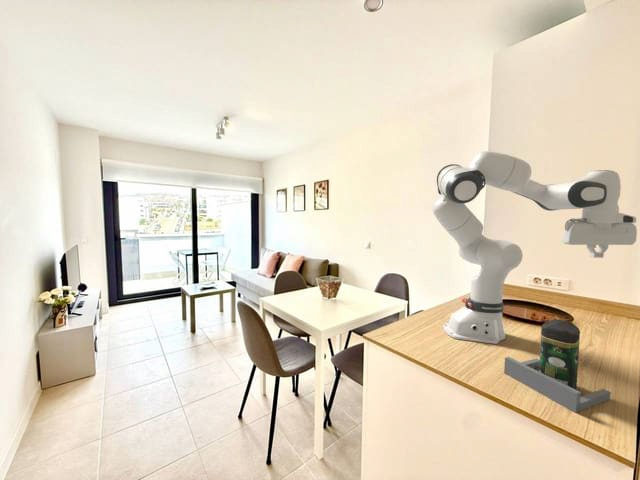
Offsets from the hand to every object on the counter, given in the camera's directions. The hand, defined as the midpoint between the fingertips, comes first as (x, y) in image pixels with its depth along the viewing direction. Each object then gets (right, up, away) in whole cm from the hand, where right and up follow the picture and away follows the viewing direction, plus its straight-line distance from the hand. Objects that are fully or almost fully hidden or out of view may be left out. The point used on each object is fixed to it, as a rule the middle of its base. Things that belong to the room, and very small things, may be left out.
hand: (596, 257), depth 95 cm
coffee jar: (-31, -36, -19) cm, 50 cm away
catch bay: (-31, -35, -18) cm, 50 cm away
